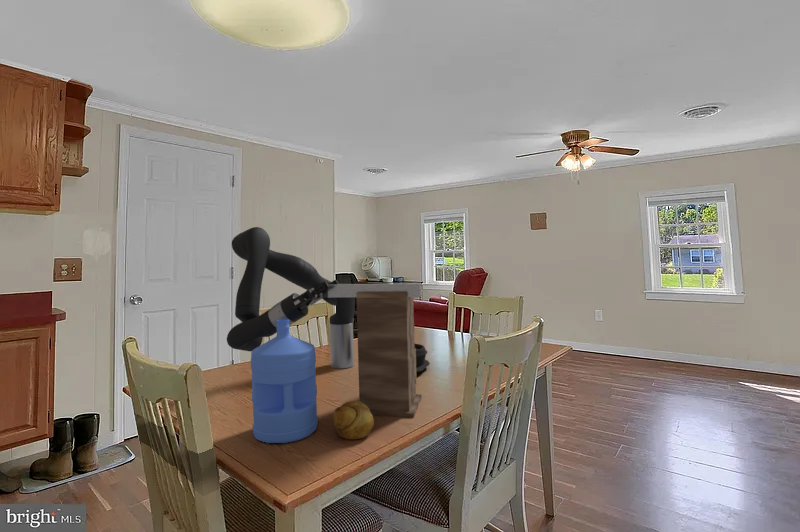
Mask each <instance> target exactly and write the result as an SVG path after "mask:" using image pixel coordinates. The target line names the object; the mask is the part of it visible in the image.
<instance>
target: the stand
mask: <svg viewBox="0 0 800 532" xmlns="http://www.w3.org/2000/svg"><path fill="white" fill-rule="evenodd" d="M356 296H357V297H356V325H357V326H356V329H357V354H358V355H357V358H358V359H357V360H358V361H357V363H358V364H357V365H358V366H357V367H358V395H359V396H358V398H359V399H358V401H360V402H362V403H363V404H365V405H367V407H368V408H369V410H370V412H371V414H372V415H373V416H380V417H381V416H382V417H400V418H401V417H402V418H415V415H416V413H417V410H418V408H419V406H420V403H421V400H422V394H417V392H416V389H417V388H416V385H417V384H415V344H416V343H415V314H414V313H415V312H414V311H415V310H414V304H415V303H414V297H407V292H356Z"/></svg>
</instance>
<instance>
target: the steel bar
mask: <svg viewBox="0 0 800 532" xmlns="http://www.w3.org/2000/svg"><path fill="white" fill-rule="evenodd" d="M328 286H329V289H327V290H326V291H324V292H322V298H331V297H355V298H357V296H356V292H407V297H413V298H421V297H422V282H421V283H420V282H417V283H415V282H413V283H412V282H411V283H408V282H407V283H403V282H402V283H347V284H328Z"/></svg>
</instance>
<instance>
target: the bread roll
mask: <svg viewBox="0 0 800 532" xmlns="http://www.w3.org/2000/svg"><path fill="white" fill-rule="evenodd" d="M332 418H333V419H332V420H333V423H334V425H335V430H336V433H337V434H338V436H339V437H340V438H343V439H345V440H358V439H364V438H365V437H367V436H369V434H370V433H371V432H372V431H373V428H374V426H375V419H374V415H372V414H371V412H370V410H369V408H368V407H367V405H365V404H363V403H362V402H360V401H359V400H355V399H354V400H350V401H346V402H345V403H343V404H342V405H340V406H338V407H337V408H335V410H334V411H333V413H332Z"/></svg>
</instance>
